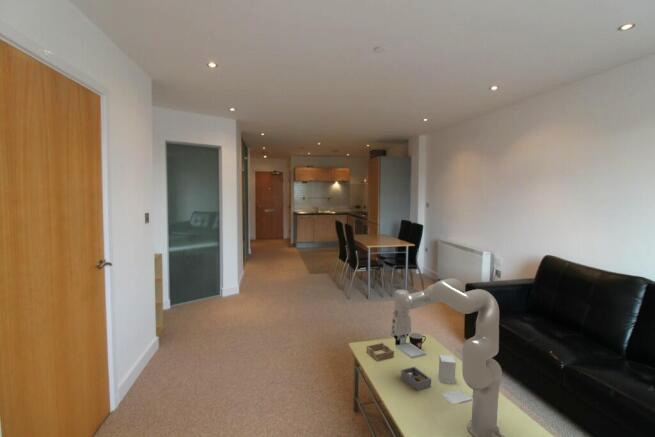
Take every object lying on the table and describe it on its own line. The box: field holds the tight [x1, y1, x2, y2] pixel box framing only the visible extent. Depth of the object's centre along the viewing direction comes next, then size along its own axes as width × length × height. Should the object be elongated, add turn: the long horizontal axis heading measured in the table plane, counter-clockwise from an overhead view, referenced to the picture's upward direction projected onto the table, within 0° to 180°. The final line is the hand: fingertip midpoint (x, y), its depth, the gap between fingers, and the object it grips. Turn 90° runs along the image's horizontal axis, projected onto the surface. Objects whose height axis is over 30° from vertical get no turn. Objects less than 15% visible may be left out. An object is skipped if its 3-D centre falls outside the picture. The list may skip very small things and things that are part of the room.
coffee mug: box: [408, 332, 427, 350], centre depth 202 cm, size 12×9×10 cm
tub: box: [400, 366, 432, 392], centre depth 166 cm, size 13×9×5 cm
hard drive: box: [440, 389, 473, 405], centre depth 154 cm, size 2×8×12 cm
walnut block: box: [414, 375, 426, 382], centre depth 163 cm, size 4×4×4 cm
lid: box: [395, 335, 427, 359], centre depth 164 cm, size 17×9×4 cm, turn 24°
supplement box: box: [438, 354, 457, 385], centre depth 168 cm, size 7×7×13 cm
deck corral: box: [366, 342, 395, 362], centre depth 196 cm, size 12×12×4 cm
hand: (400, 345), depth 170 cm, fingers closed on lid, 3 cm apart
